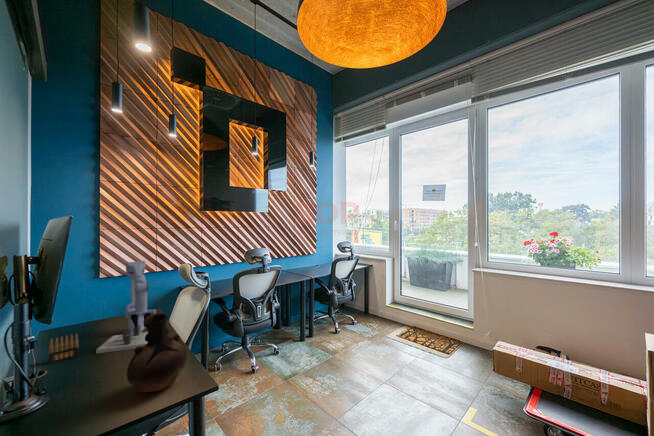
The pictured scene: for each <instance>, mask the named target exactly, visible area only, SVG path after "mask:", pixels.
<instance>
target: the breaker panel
mask: <svg viewBox="0 0 654 436" xmlns="http://www.w3.org/2000/svg"><path fill="white" fill-rule="evenodd" d="M147 333H148V331H144V332H143V331H142V332H141V333H140V334H139V335H134V334H132V342H131V343H130V344H124V340H123V334H118V335H117V334H116V335H112V336H111V337H110V338H108V339H107V340H106V341H105V342H104V343H102V344H101V345H100V346H99V347H98V348H97V349H96V351H95V352H96V353H95V354H103V353H111V352H121V351H125V350H126V351H127V350H135V349H136V348H137V347H139V346H141V347H143V346H144V345H145V344H147V343H148V342H147V341H145V336H146V335H147Z"/></svg>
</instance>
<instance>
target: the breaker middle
mask: <svg viewBox="0 0 654 436" xmlns="http://www.w3.org/2000/svg"><path fill="white" fill-rule="evenodd" d="M126 334H130V330H128V329H127V330H125V331H122V335H123V340H124V336H125V335H126Z"/></svg>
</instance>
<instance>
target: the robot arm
mask: <svg viewBox="0 0 654 436" xmlns="http://www.w3.org/2000/svg"><path fill="white" fill-rule="evenodd" d="M145 270H146V261H145V260H142V261H127V262H126V263H125V273H126V276H128V277H129V278H130V293H131V294H130V295H131V297H130V298H131V301H130V303H128V304H127V305H126V307H125V318H126V319H128V326H127V327H128V329H127V330H130V334H134V327H135V328H137V327H138V326H140V333H143V330H144V329H147V328H146V327H145V325H144V323H143V321H144V320H145V319H146V318H147V317H149V316H151V315H153V314H157V309H148V292H149V287H150V285H149V282H148V281H147V280H146V275H144V273H145Z"/></svg>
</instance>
